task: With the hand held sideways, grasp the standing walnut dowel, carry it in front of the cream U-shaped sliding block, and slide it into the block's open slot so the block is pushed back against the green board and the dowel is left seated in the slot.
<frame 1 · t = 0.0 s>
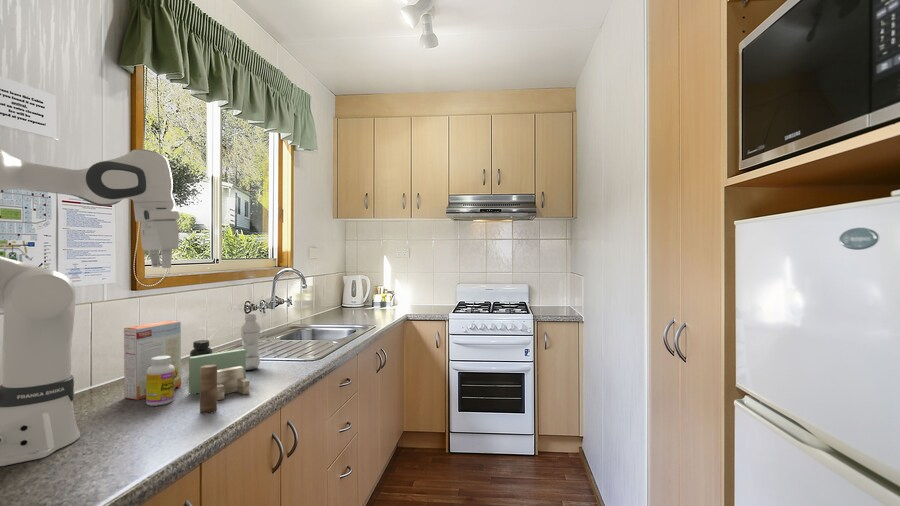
hand: (161, 267, 112), 39 cm above the counter, tool pointing down, fingers open, 8 cm apart
supplement bottle: (201, 376, 149), on the counter
plastic bottle: (250, 370, 157), on the counter
supplement bottle 2: (160, 403, 122), on the counter
block: (229, 382, 129), point 4 cm above the counter, slide at 0.0 cm
wall: (218, 388, 135), on the counter
dowel: (208, 411, 116), on the counter
cracker box: (153, 393, 131), on the counter
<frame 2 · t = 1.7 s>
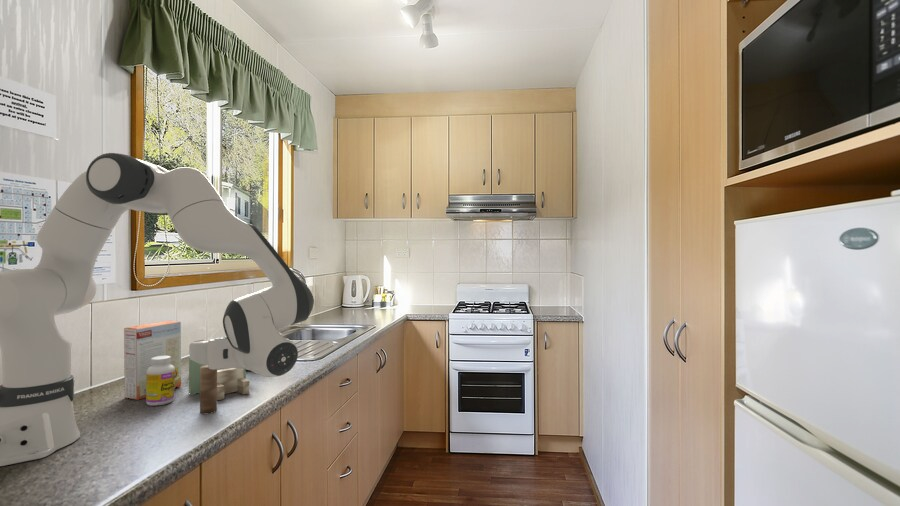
hand: (226, 341, 108), 21 cm above the counter, tool horizontal, fingers open, 8 cm apart
nothing on the counter moved.
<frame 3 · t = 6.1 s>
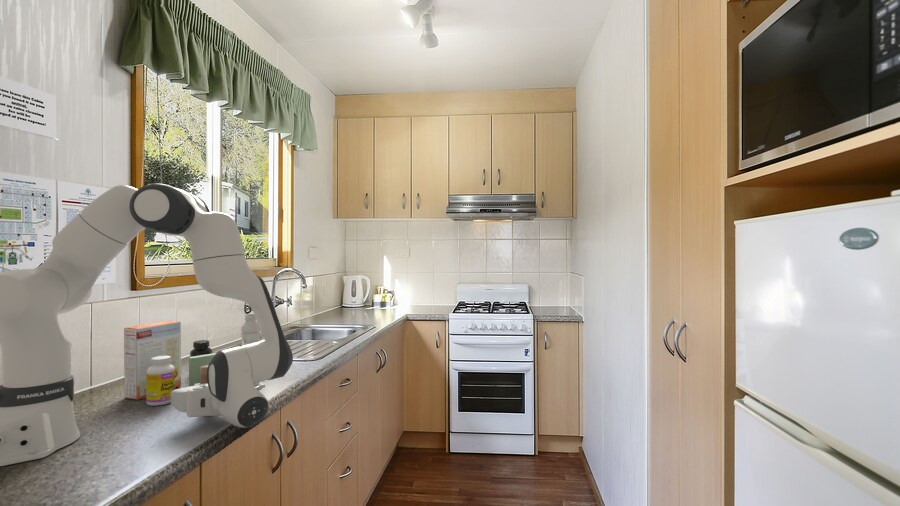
hand: (207, 384, 116), 7 cm above the counter, tool horizontal, fingers closed on dowel, 4 cm apart
dowel: (208, 411, 116), on the counter, touching gripper
everything else where it was.
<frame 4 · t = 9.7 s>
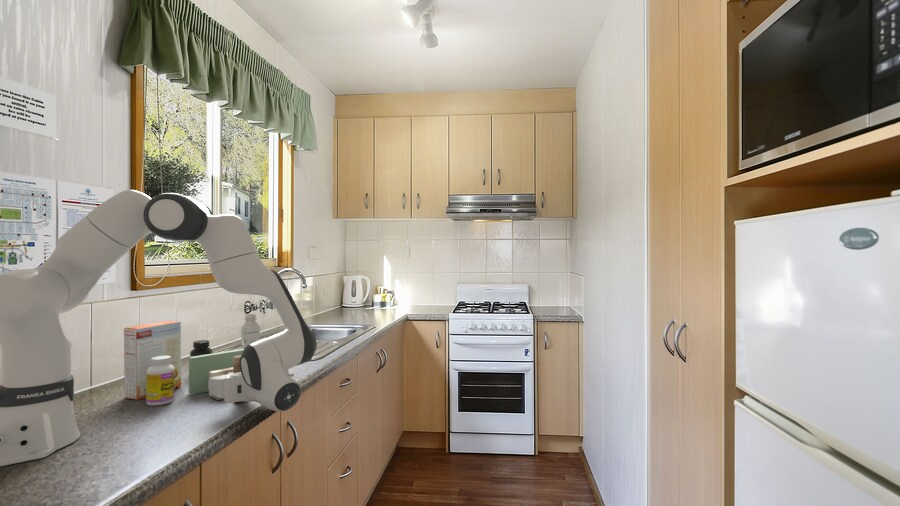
hand: (239, 373, 124), 8 cm above the counter, tool horizontal, fingers closed on dowel, 4 cm apart
dowel: (240, 398, 123), point 1 cm above the counter, touching gripper
everything else where it was.
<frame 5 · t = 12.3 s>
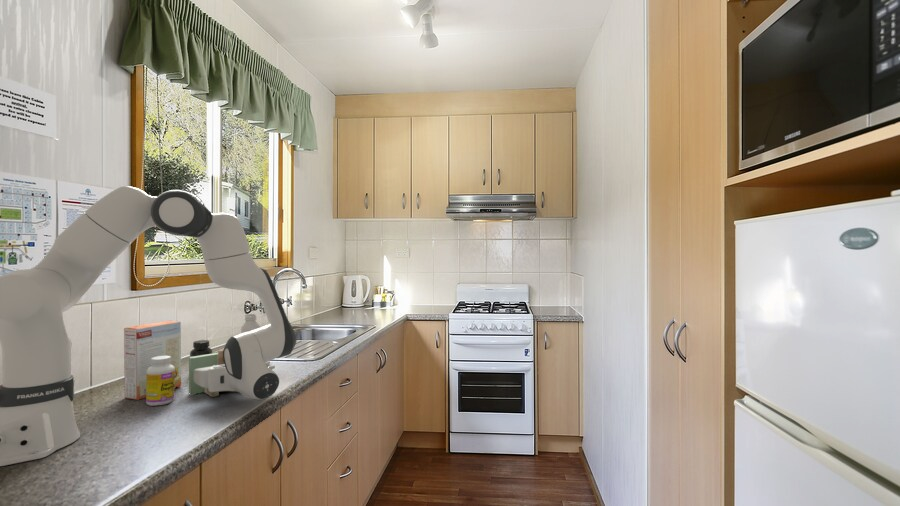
hand: (224, 365, 132), 8 cm above the counter, tool horizontal, fingers closed on dowel, 4 cm apart
block: (224, 379, 132), point 4 cm above the counter, slide at 4.3 cm, touching dowel
dowel: (225, 389, 131), point 1 cm above the counter, touching block, gripper
everything else where it was.
when the fingers open (8 cm above the counter, at t = 13.5 s): dowel drops 1 cm, on the counter.
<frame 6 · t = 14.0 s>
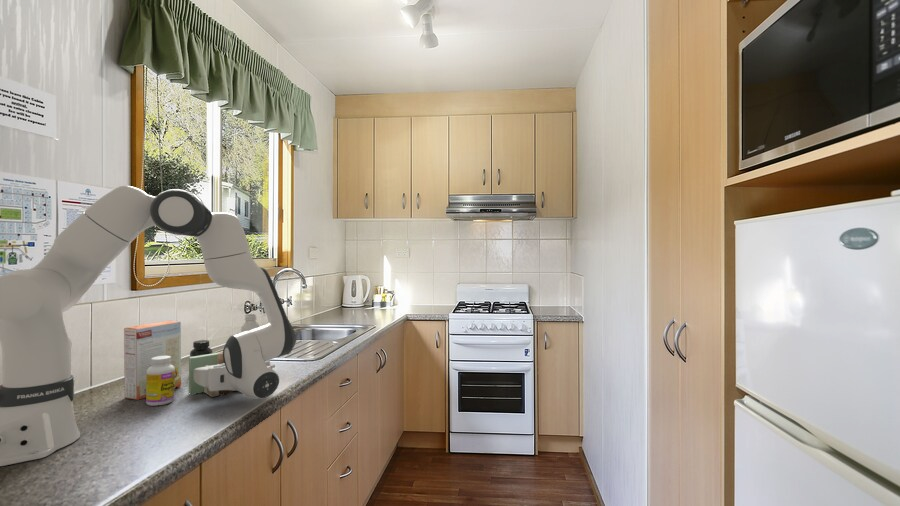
hand: (224, 365, 132), 8 cm above the counter, tool horizontal, fingers open, 8 cm apart
block: (223, 379, 132), point 4 cm above the counter, slide at 4.4 cm
dowel: (225, 392, 131), on the counter
everything else where it was.
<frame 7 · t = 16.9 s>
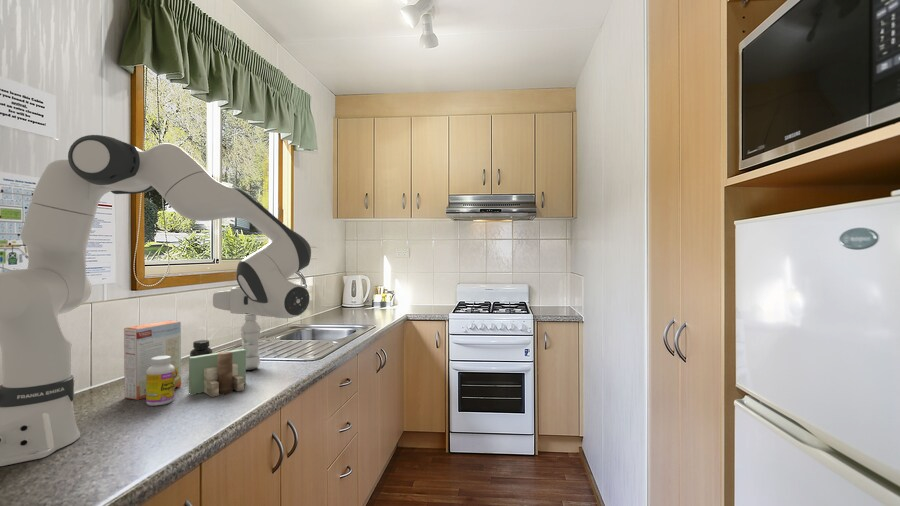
hand: (243, 297, 121), 30 cm above the counter, tool horizontal, fingers open, 8 cm apart
nothing on the counter moved.
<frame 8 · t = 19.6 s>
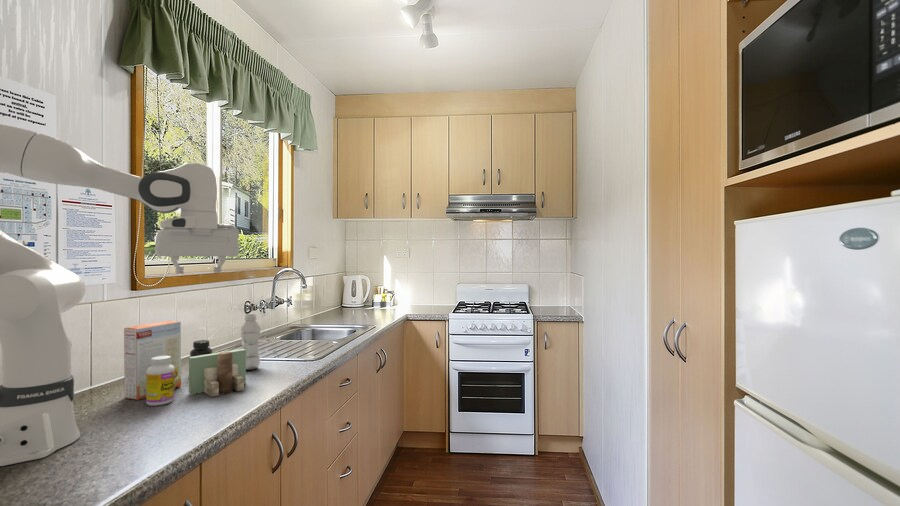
hand: (199, 273, 118), 37 cm above the counter, tool pointing down, fingers open, 8 cm apart
nothing on the counter moved.
at the end: block slide at 4.4 cm; dowel 0.4 cm from the target spot on the block, point 0.0 cm above the block's base; dowel tilted 0° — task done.
